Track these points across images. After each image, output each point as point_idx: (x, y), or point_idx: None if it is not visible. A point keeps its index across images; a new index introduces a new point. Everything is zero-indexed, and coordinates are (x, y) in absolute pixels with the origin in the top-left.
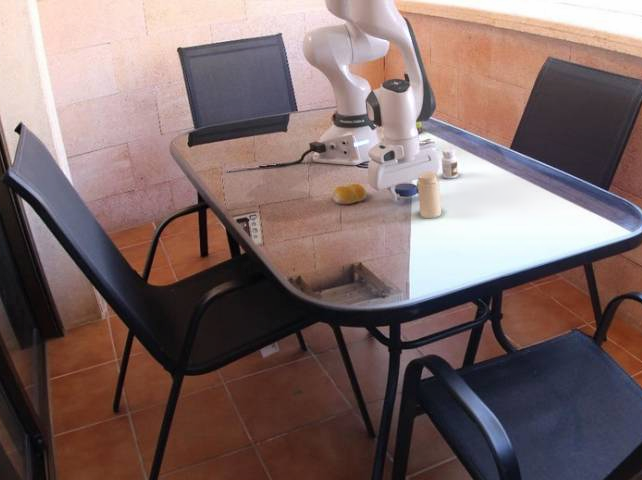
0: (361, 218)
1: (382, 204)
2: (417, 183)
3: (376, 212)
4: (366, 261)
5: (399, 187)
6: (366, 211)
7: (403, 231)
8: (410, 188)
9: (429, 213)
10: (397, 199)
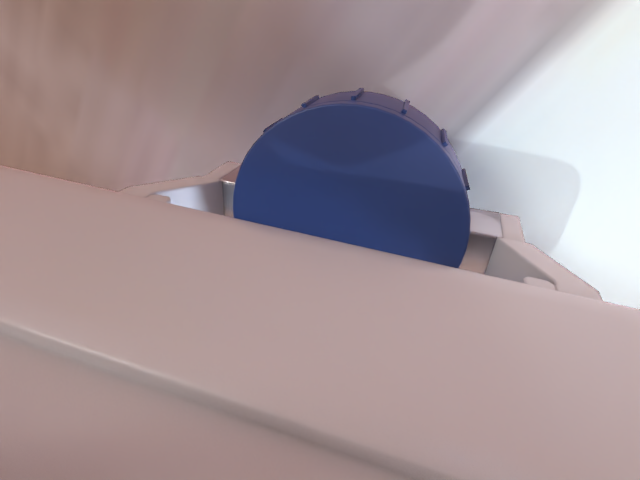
0: (32, 153)
1: (197, 77)
2: (511, 253)
3: (121, 157)
4: None
5: (277, 205)
6: (73, 90)
7: None
8: None
9: None
10: None
